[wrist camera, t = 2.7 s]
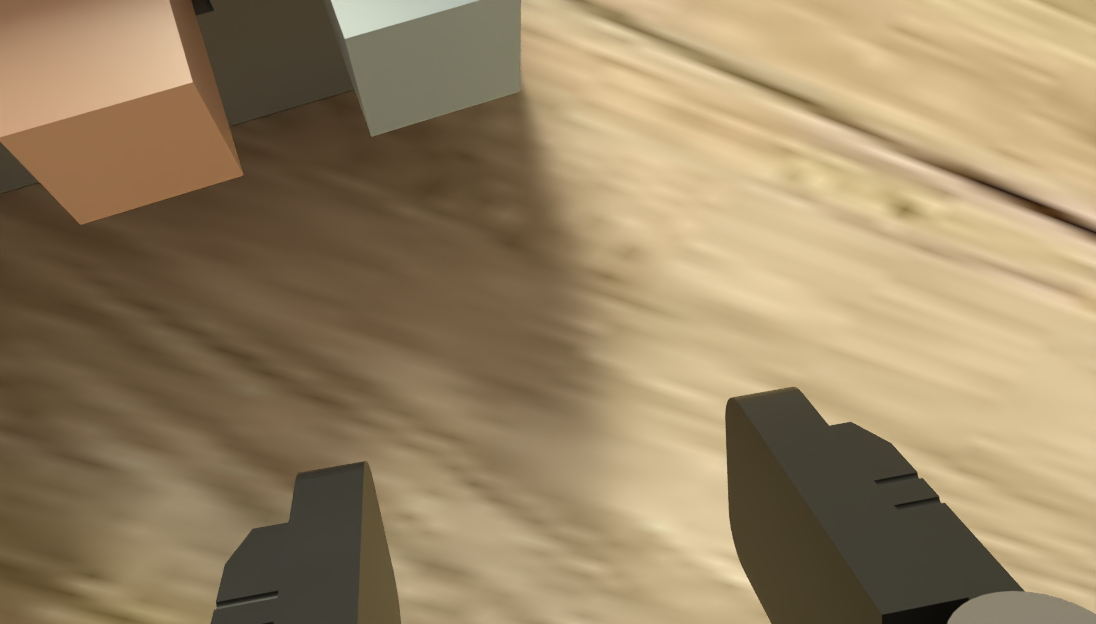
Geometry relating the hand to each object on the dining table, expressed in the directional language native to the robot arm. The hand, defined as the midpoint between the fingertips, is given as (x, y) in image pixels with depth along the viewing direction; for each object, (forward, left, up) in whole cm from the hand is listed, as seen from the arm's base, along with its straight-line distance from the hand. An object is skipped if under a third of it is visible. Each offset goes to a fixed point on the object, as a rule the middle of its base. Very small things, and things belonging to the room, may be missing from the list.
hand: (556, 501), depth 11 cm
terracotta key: (-6, +17, -13) cm, 22 cm away
